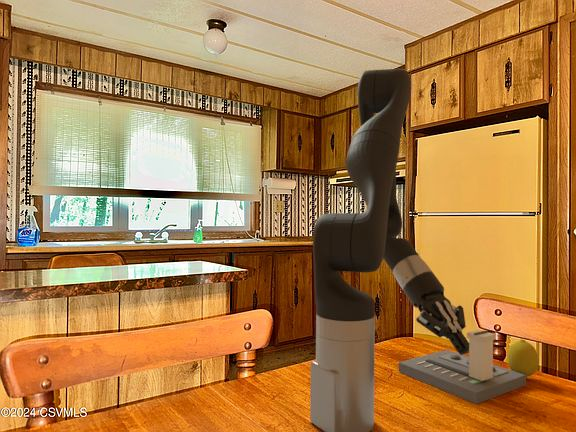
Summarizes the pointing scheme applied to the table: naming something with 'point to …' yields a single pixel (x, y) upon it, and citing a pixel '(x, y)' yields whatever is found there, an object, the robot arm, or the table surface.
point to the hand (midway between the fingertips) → (466, 352)
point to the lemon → (523, 358)
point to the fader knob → (481, 354)
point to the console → (460, 376)
